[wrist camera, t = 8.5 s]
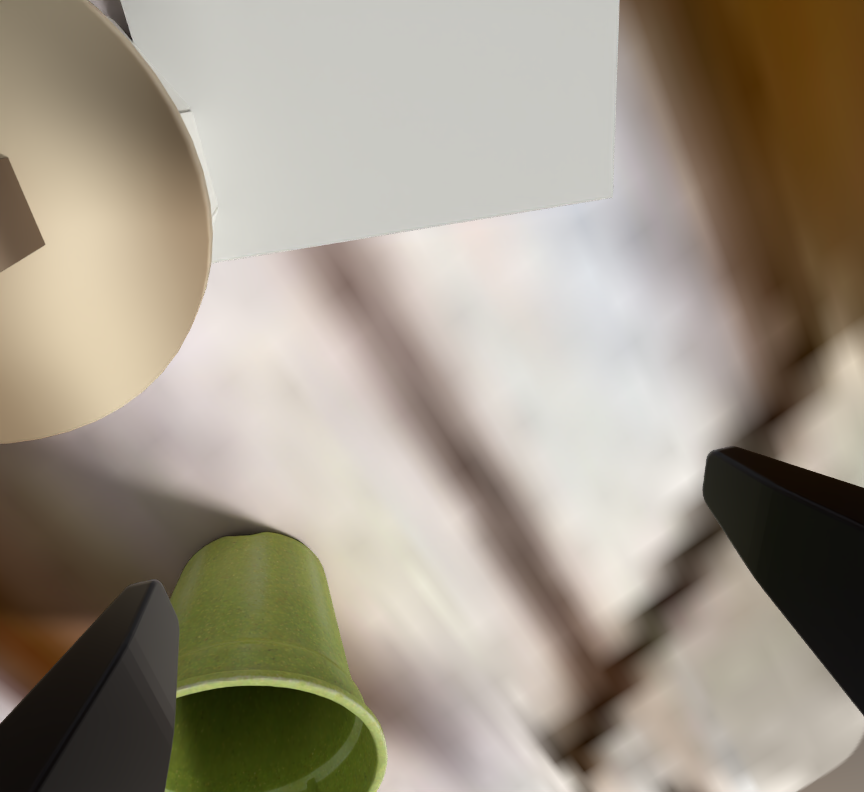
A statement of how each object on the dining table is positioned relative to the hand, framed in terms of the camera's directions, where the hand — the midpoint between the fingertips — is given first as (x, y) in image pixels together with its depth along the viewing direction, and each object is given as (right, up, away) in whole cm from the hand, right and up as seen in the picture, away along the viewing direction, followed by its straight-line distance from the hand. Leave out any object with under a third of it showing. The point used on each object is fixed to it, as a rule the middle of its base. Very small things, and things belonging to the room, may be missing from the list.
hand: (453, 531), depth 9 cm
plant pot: (-8, -6, +16) cm, 19 cm away
